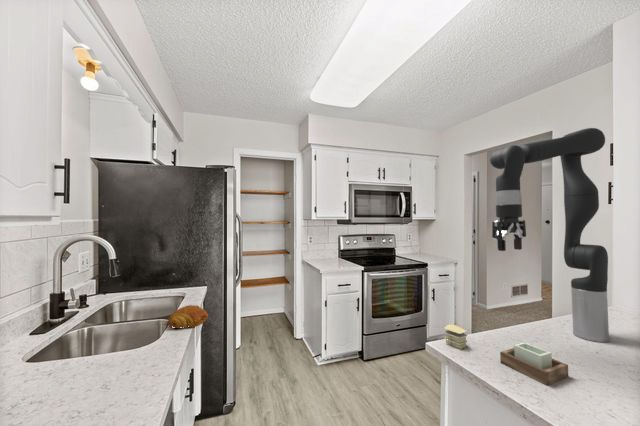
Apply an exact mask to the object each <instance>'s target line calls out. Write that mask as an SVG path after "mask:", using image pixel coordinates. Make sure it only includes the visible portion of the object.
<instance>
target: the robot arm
mask: <svg viewBox="0 0 640 426" xmlns="http://www.w3.org/2000/svg"><path fill="white" fill-rule="evenodd" d="M605 143H606V137H605V134H604V131H602V130H600V129H599V128H595V127H588V128H583V129H580V130H577V131H574V132H571V133H567V134H565V135H563V136H562V137H558V138H557V137H556V138H550V139H545V140H539V141H534V142H528V143H524V144H521V145H515V144H513V145H510V146H506V147H503V148H500V149H498V150H495V151H494V152H493V153H492V154H491V156H490V158H489V162H490V165H491V166H492V167H493V168H495V169H498V170H502V169H503V171H502V173H501V174H499V175H498V176H496V178H495V217H496V218H499V220H492V231H491V232H492V233H491V234H492V235H491V237H492V238H493V239H496V240H497V241H496V242H497V251H500V252H505V251H506V250H507V248H506V239H507V236H508V235H512V237H513V249H514V250H517V251H518V250H522V249H523V246H522V244H523V243H522V241H523V239H524V237H525V238H526V237H527V230H526V229H527V228H526V227H527V226H526V220H525V219H522V220H521V219H519V218H522V217H523V204H522V203H523V202H522V201H523V200H522V192H521V176H522V174H523V170H524V169H523V168H524V165H525V164H531V163H532V164H533V163H537V162H541V161H546V160H549V159H553V158H556V157H560V163H561V169H562V177H563V204H564V205H563V206H564V217H565V219H564V221H565V227H564V228H565V229H564V231H565V233H564V247H563V259H564V262H565V265H566V266H567V267H568V268H571V269H578V270H585V271H589V275H587V276H583V277H577V278H576V277H575V278H572V279H571V280H570V288H571V291H570V293H571V310H572V311H571V313H572V334H573V335H575V336H576V337H578V338H581V339H584V340H587V341H592V342H597V343H600V342H601V343H607V342H609V341H610V331H609V330H610V327H609V308H608V307H609V305H608V304H609V303H608V302H609V301H608V277H609V276H608V275H609V272H608V271H609V255H608V251H607V249H606V248H605V246H603V245H598V244H586V243H585V244H583V243H581V237H582V233H583V231H584V230H585V228H586V227H587V225H588V224H589V223H590V221H591V220H592V219H593V218H594V217H595V215H596V214H597V212H598V211H599V208H600V200H599V198H600V197H599V196H600V195H599V190H598V188H597V186H596V185H595V183H594V182H593V181H592V179H590V177H589V176H588V175H587V174H586V172H585V171H584V170H583V169H584V168H583V166H582V156H587V155H591V154H594V153H596V152H598V151H600V150H601V149H602V148H603V147H604V145H605Z"/></svg>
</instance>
